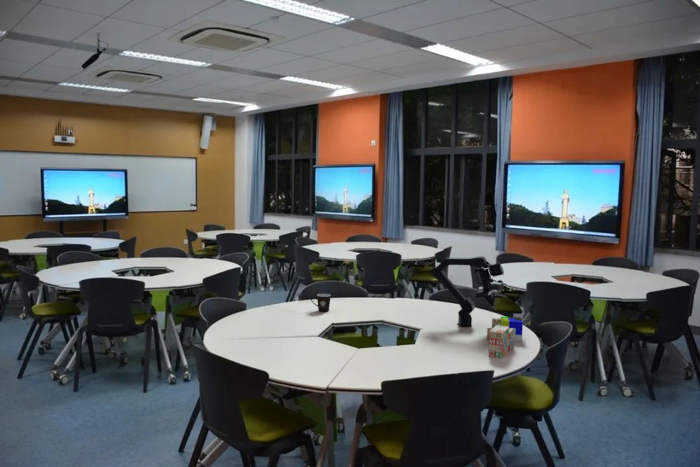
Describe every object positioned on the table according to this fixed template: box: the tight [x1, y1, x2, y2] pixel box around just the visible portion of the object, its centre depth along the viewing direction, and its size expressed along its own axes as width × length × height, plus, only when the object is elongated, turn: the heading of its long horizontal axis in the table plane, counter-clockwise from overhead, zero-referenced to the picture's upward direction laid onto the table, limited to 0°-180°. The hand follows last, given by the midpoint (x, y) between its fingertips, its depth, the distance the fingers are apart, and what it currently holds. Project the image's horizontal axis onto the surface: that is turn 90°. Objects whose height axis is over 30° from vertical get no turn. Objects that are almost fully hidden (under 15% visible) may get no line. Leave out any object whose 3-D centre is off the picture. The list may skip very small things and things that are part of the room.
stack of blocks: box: [488, 325, 514, 360], centre depth 250 cm, size 21×6×12 cm, turn 150°
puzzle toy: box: [500, 315, 524, 342], centre depth 273 cm, size 10×10×10 cm
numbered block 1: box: [491, 317, 501, 328], centre depth 289 cm, size 5×5×6 cm
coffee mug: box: [310, 293, 332, 313], centre depth 328 cm, size 12×9×10 cm
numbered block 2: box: [486, 327, 493, 341], centre depth 268 cm, size 5×5×6 cm
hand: (493, 306), depth 290 cm, fingers closed
